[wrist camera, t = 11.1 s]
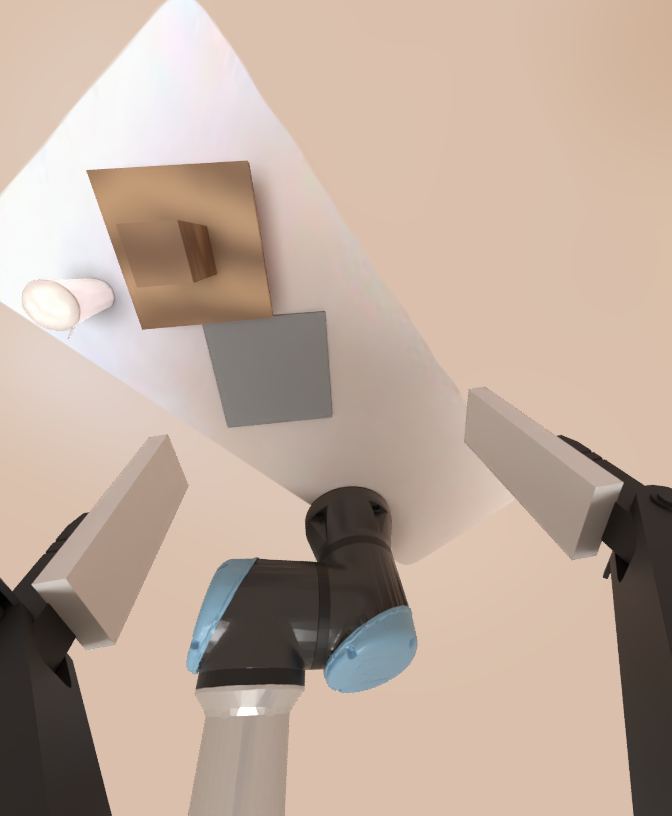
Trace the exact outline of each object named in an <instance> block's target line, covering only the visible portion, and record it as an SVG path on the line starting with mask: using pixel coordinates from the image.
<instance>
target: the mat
mask: <svg viewBox="0 0 672 816" xmlns="http://www.w3.org/2000/svg"><path fill="white" fill-rule="evenodd" d="M202 325H203V329H204V333H205V337H206V341H207V345H208V349H209V353H210V357H211V361H212V365H213V369H214V373H215V377H216V381H217V385H218V389H219V393H220V397H221V401H222V405H223V409H224V413H225V417H226V422H227V426H228V428H231V427H240V426H250V425H260V424H270V423H279V422H289V421H299V420H309V419H318V418H328V417H332V406H331V392H330V377H329V363H328V348H327V334H326V319H325V311H320V312H307V313H295V314H282V315H273V317H272V318H263V319H252V320H241V321H230V322H219V323H208V324H202Z"/></svg>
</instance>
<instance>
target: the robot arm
mask: <svg viewBox="0 0 672 816" xmlns="http://www.w3.org/2000/svg"><path fill="white" fill-rule="evenodd" d="M464 442H465V443H466V444H467V445H468V446H469V447H470V449H471V450H472V451H473V452H474V453H475V454H476V455H477V456H478V457H479V458H480V460H481V461H482V462H483V463H484V464H485V465H486V466H487V467H488V468H489V469H490V471H491V472H492V473H493V474H494V475H495V476H496V477H497V478H498V479H499V480H500V482H501V483H502V484H503V485H504V486H505V487H506V488H507V489H508V490H509V492H510V493H511V494H512V495H513V496H514V497H515V498H516V499H517V500H518V501H519V503H520V504H521V505H522V506H523V507H524V508H525V509H526V510H527V511H528V512H529V513H530V515H531V516H532V517H533V518H534V519H535V520H536V521H537V522H538V523H539V525H541V527H542V528H543V529H544V530H545V531H546V532H547V533H548V534H549V536H550V537H551V538H552V539H553V540H554V541H555V542H556V543H557V544H558V545H559V546H560V548H561V549H562V550H563V551H564V552H565V553H566V554H567V555H568V556H569V558H571V560H575V559H581V558H586V557H591V556H596V555H597V552H598V550H599V547H600V544H601V542H602V541H603V542H604V543H605V544H606V545H607V546H608V547H609V548H611V549H612V550H613V551H612V554H611V556H610V559H609V561H608V564H607V566H606V569H605V571H604V575H603V578H606V579H608V577H609V574H610V573H611V579H612V589H613V600H614V611H615V621H616V632H617V643H618V653H619V664H620V675H621V685H622V696H623V707H624V717H625V728H626V737H627V749H628V760H629V771H630V781H631V792H632V803H633V813H634V816H672V488H669V487H665V486H657V485H647V486H644V485H643V484H641V483H640V482H638V481H637V480H635V479H634V478H632V477H631V476H629V475H628V474H626V473H625V472H623V471H621V470H620V469H619V468H617V467H616V466H614V465H613V464H611V463H610V462H608V461H607V460H603V459H602V457H600V456H599V455H597V454H596V453H594V452H591V450H590V449H588V448H587V447H585V446H584V445H582V444H581V443H579V442H577V441H575V440H572V439H570V438H567V437H565V436H562V435H559V436H555V435H554V434H553V433H551V432H550V431H548V430H547V429H545V428H544V427H543V426H541V425H540V424H538V423H537V422H535V421H534V420H532V419H531V418H530V417H528V416H527V415H525V414H524V413H522V412H521V411H519V410H518V409H517V408H515V407H514V406H512V405H510V404H509V403H508V402H506V401H505V400H504V399H502V398H501V397H499V396H498V395H496V394H495V393H493V392H492V391H490V390H489V389H488V388H486V387H482V388H475V389H469V392H468V403H467V415H466V427H465V439H464ZM187 488H188V483H187V481H186V478H185V476H184V473H183V471H182V468H181V466H180V463H179V461H178V458H177V456H176V454H175V451H174V449H173V446H172V444H171V441H170V439H169V436H168V435H162V436H154V437H149V438H148V440H147V441H146V442H145V443H144V445H143V446H142V447H141V448H140V450H139V451H138V452H137V454H136V455H135V456H134V457H133V458H132V460H131V461H130V462H129V463H128V465H127V466H126V467H125V468H124V470H123V471H122V472H121V473H120V475H119V476H118V477H117V478H116V480H115V481H114V482H113V483H112V485H111V486H110V487H109V488H108V490H107V491H106V492H105V493H104V494H103V496H102V497H101V498H100V499H99V501H98V502H97V503H96V505H95V506H94V507H93V508H92V510H91V511H90V512H88V513H84V514H82V515H81V516H79V517H78V518H77V519H76V520H74V521H73V522H72V523H71V524H69V525H68V526H67V527H66V528H65V529H64V531H63V532H62V533H61V534H60V535H59V537H58V538H57V539H56V542H55V543H53V544H52V545H51V546H50V547H49V549H48V550H47V551H46V554H44V555H43V556H42V557H41V558H40V559H39V560H38V562H37V563H36V564H35V565H34V566H33V568H32V569H31V570H30V571H29V572H28V573H27V575H26V576H25V577H24V578H23V579H22V581H21V582H20V583H19V584H18V585H17V587H16V588H15V589H14V590H13V591H11V589H10V588H9V587H8V586H7V585H6V584H5V583H4V582H3V580H2V579H1V578H0V816H112V814H111V811H110V806H109V803H108V799H107V795H106V791H105V787H104V783H103V779H102V775H101V771H100V767H99V763H98V759H97V755H96V751H95V747H94V743H93V739H92V735H91V731H90V727H89V723H88V720H87V715H86V711H85V708H84V704H83V700H82V696H81V692H80V688H79V684H78V680H77V676H76V672H75V668H74V664H73V660H72V659H71V658H70V656H69V655H68V654H67V652H68V650H69V648H70V646H71V645H72V643H73V641H74V640H75V638H76V639H77V640H78V641H79V643H80V644H81V645H82V646H83V647H84V648H85V650H90V649H95V648H100V647H106V646H111V645H115V643H116V641H117V639H118V637H119V635H120V633H121V631H122V629H123V626H124V624H125V622H126V620H127V618H128V615H129V613H130V611H131V609H132V607H133V605H134V603H135V600H136V598H137V596H138V594H139V592H140V589H141V587H142V585H143V583H144V581H145V579H146V577H147V574H148V572H149V570H150V568H151V566H152V564H153V561H154V559H155V557H156V555H157V553H158V550H159V548H160V546H161V544H162V542H163V540H164V538H165V535H166V533H167V531H168V529H169V527H170V525H171V522H172V520H173V518H174V516H175V514H176V511H177V509H178V507H179V505H180V503H181V501H182V499H183V497H184V494H185V492H186V490H187ZM305 529H306V536H307V540H308V542H309V544H310V547H311V549H312V551H313V553H314V555H315V558H316V560H317V562H308V561H287V560H267V559H259V558H254V559H231V560H228V561H226V562H224V563H223V564H222V565H221V566H220V567H219V568H218V569H217V571H216V573H215V575H214V576H213V579H212V581H211V583H210V585H209V588H208V590H207V593H206V595H205V598H204V601H203V604H202V607H201V609H200V613H199V616H198V619H197V622H196V625H195V629H194V632H193V639H192V642H191V646H190V649H189V652H188V656H187V669H188V670H189V671H190V672H192V673H193V674H197V673H198V672H199V676H198V681H197V686H196V690H195V696H196V697H197V699H198V701H199V703H200V704H201V706H202V708H203V710H204V713H205V717H206V718H205V724H204V730H203V734H202V740H201V746H200V751H199V757H198V762H197V768H196V773H195V779H194V784H193V790H192V796H191V801H190V807H189V812H188V816H284V815H285V794H286V774H287V752H288V734H289V733H288V732H289V713H290V711H291V709H292V707H293V705H294V704H295V702H296V701H297V700H298V698H299V697H300V696H301V694H302V693H303V691H304V686H305V684H304V683H305V670H310V669H311V670H313V669H324V677H325V679H326V681H327V684H328V686H329V687H330V688H331V689H333V690H335V691H336V690H338V691H340V692H342V693H354V692H360V691H364V690H368V689H371V688H374V687H376V686H379V685H381V684H383V683H386V682H387V681H389V680H391V679H392V678H394V677H396V676H397V675H398V674H400V673H401V672H402V671H403V670H405V668H406V667H407V666H408V665H409V664H410V663H411V661H412V660H413V658H414V656H415V653H416V650H417V636H416V632H415V628H414V623H413V619H412V612H411V609H410V608H409V606H408V602H407V599H406V596H405V593H404V590H403V587H402V584H401V580H400V577H399V574H398V571H397V568H396V565H395V562H394V559H393V556H392V552H391V549H390V547H391V529H392V520H391V515H390V512H389V509H388V506H387V504H386V502H385V501H384V499H383V498H382V497H381V496H380V495H378V494H377V493H375V492H373V491H371V490H369V489H365V488H360V487H345V488H339V489H336V490H333V491H330V492H328V493H326V494H324V495H323V496H321V497H320V498H318V499H317V500H316V501H315V502H314V503H313V504H312V505H311V507H310V508H309V510H308V512H307V515H306V519H305Z"/></svg>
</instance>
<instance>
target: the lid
mask: <svg viewBox="0 0 672 816" xmlns="http://www.w3.org/2000/svg"><path fill="white" fill-rule="evenodd" d="M86 171H87V174H88V176H89V179H90V182H91V185H92V188H93V191H94V194H95V196H96V199H97V202H98V205H99V208H100V211H101V213H102V216H103V219H104V222H105V225H106V228H107V231H108V233H109V236H110V239H111V242H112V245H113V248H114V250H115V253H116V256H117V259H118V262H119V265H120V267H121V270H122V273H123V276H124V279H125V282H126V285H127V287H128V290H129V293H130V296H131V299H132V302H133V304H134V307H135V310H136V313H137V316H138V319H139V322H140V324H141V327H142V330H143V329H154V328H165V327H176V326H187V325H198V324H208V323H219V322H230V321H241V320H252V319H263V318H272V317H273V311H272V305H271V298H270V292H269V286H268V279H267V273H266V267H265V260H264V254H263V247H262V241H261V235H260V228H259V222H258V216H257V209H256V203H255V196H254V190H253V184H252V177H251V171H250V165H249V162H248V161H234V162H217V163H200V164H183V165H166V166H149V167H132V168H115V169H98V170H86Z"/></svg>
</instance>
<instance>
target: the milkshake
mask: <svg viewBox="0 0 672 816" xmlns="http://www.w3.org/2000/svg"><path fill="white" fill-rule="evenodd" d="M114 299H115V298H114V295H113V291H112V289H111V288H110V287H109V286H108V285H107V284H106V283H105V282H103V281H100V280H97V279H65V280H58V279H39V280H33V281H31V282H29V283H28V284H27V285H26V286H25V287H24V289H23V291H22V306H23V309H24V310H25V312H26V313H27V314H28V316H29V317H30V318H31V319H32V320H33V321H34V322H35V323H37V324H38V325H40V326H42V327H45V328H48V329H52V330H56V331H64V330H68V329H70V328H71V331H70V333H69V336H68V339H69V338H70V337H71V335H72V332H73V329H74V327H75V326H76V325H77V324H79V323H81V322H82V321H84V320H86V319H88V318H89V317H91V316H93V315H95V314H97V313H99V312H101V311H103V310H105V309H107V308H109V307H111V306H112V304H113V301H114Z"/></svg>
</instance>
